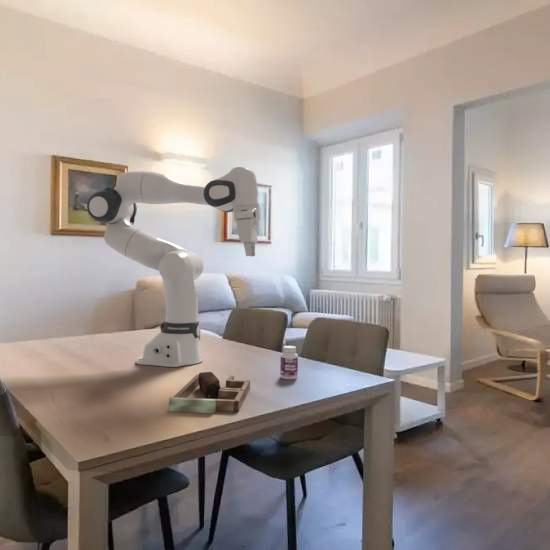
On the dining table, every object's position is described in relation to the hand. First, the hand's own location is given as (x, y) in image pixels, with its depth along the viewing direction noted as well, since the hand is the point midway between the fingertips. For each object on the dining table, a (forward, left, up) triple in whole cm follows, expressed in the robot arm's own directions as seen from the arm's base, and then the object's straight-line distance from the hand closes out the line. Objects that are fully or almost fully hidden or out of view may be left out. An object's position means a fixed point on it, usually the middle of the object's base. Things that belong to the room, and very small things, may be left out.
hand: (250, 256), depth 158 cm
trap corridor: (-4, -37, -38) cm, 53 cm away
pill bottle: (+14, -14, -38) cm, 43 cm away
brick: (-6, -33, -38) cm, 51 cm away
